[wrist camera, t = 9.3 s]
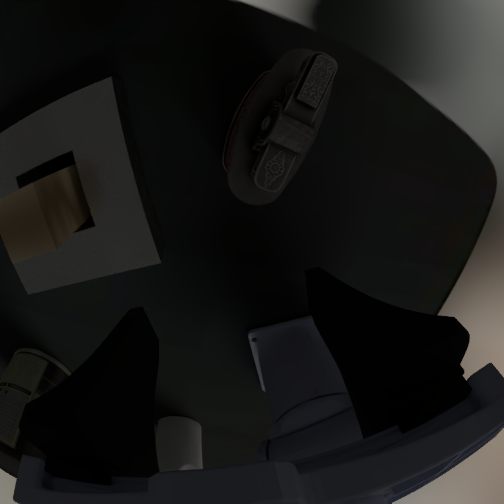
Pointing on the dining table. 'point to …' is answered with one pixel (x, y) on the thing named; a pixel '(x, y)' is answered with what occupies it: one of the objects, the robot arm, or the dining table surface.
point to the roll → (178, 444)
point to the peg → (43, 214)
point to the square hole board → (86, 185)
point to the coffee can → (24, 401)
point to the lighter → (277, 125)
